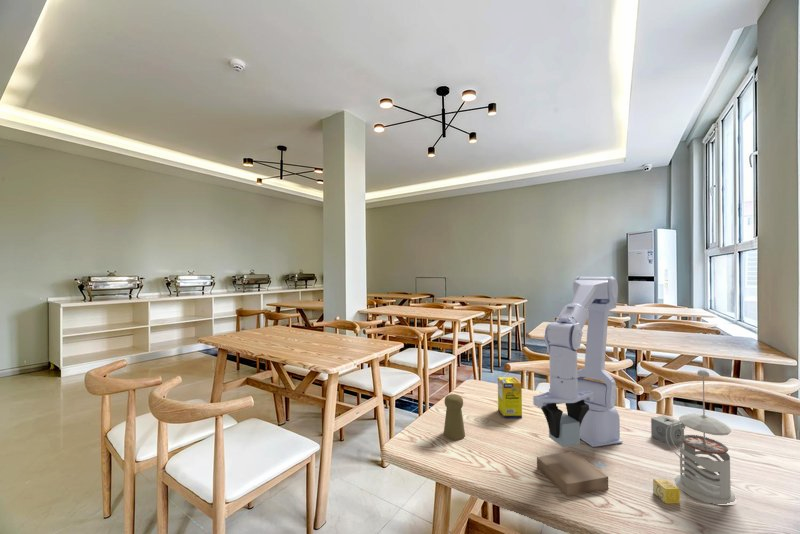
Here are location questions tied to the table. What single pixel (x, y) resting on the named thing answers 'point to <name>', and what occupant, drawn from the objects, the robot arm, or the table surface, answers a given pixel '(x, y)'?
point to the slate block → (568, 432)
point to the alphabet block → (666, 491)
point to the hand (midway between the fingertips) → (564, 434)
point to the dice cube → (660, 427)
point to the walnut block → (572, 473)
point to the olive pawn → (454, 418)
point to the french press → (704, 458)
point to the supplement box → (510, 397)
